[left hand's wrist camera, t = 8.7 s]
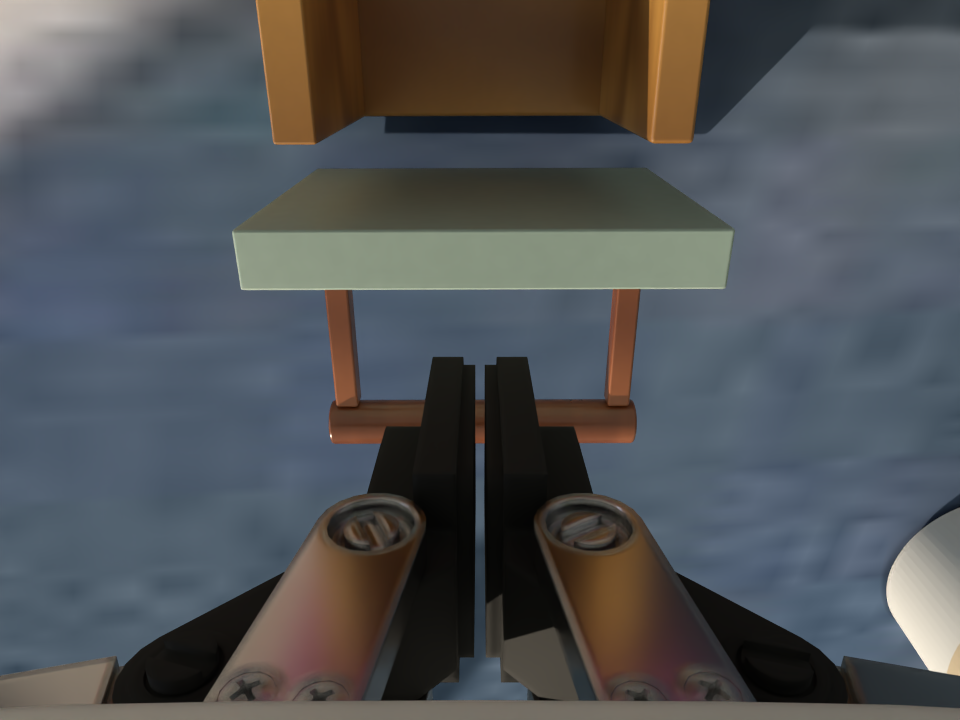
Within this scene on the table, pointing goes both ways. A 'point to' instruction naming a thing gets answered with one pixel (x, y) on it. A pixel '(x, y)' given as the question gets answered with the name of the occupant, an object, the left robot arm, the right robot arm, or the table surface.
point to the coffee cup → (930, 593)
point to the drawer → (483, 173)
